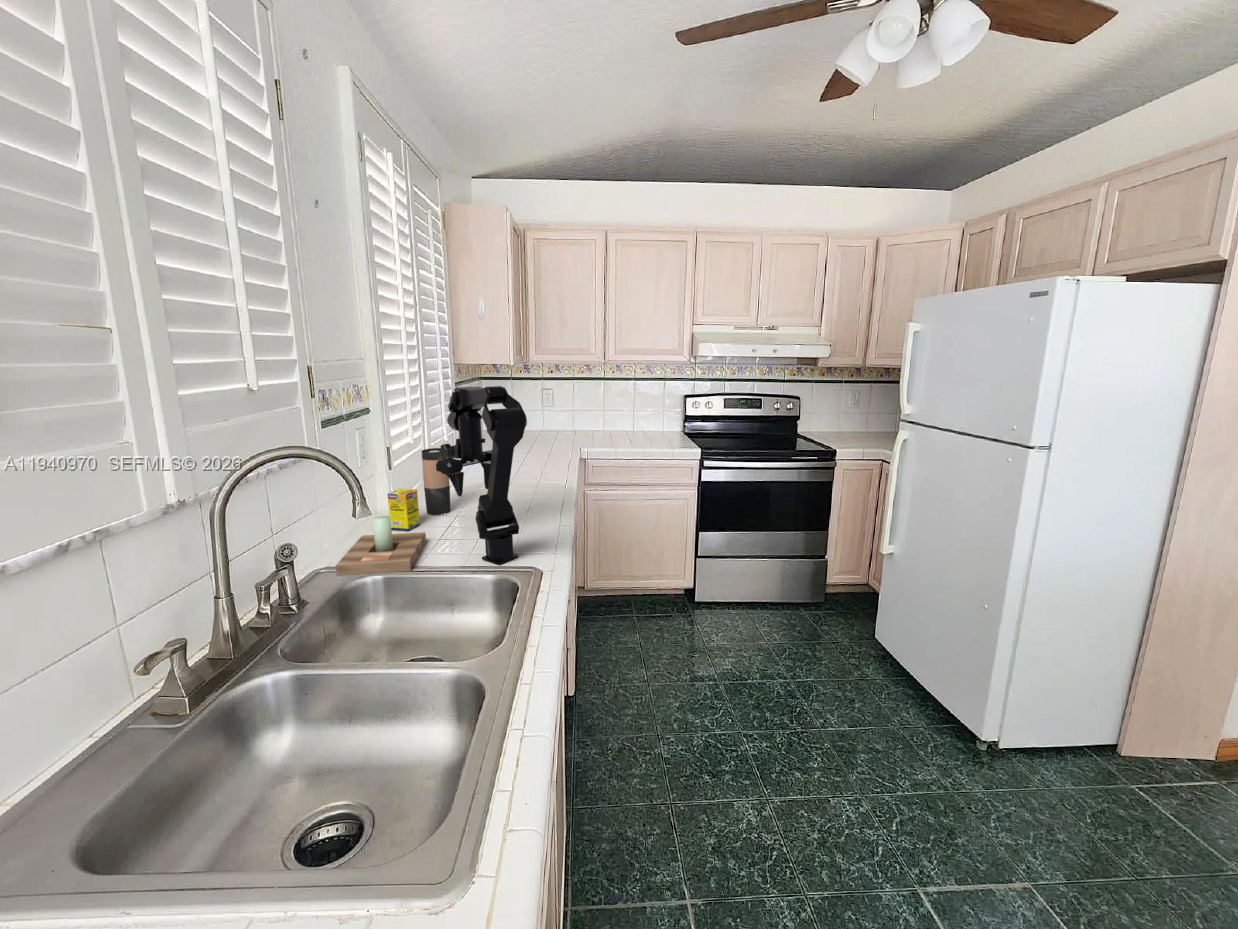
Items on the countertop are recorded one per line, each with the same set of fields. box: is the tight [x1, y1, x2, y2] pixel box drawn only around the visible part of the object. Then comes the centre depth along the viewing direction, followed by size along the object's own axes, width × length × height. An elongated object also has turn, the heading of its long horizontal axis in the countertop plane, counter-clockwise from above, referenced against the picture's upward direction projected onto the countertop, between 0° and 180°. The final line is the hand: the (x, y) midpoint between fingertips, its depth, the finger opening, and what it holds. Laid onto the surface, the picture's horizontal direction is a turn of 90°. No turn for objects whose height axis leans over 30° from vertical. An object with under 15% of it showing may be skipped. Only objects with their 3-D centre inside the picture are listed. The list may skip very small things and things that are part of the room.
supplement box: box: [387, 488, 421, 532], centre depth 153 cm, size 6×6×11 cm
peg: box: [372, 515, 393, 552], centre depth 131 cm, size 4×4×10 cm
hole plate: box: [335, 531, 427, 577], centre depth 132 cm, size 20×16×3 cm
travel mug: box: [421, 447, 451, 516], centre depth 166 cm, size 8×8×20 cm
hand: (473, 492), depth 142 cm, fingers open, 9 cm apart
